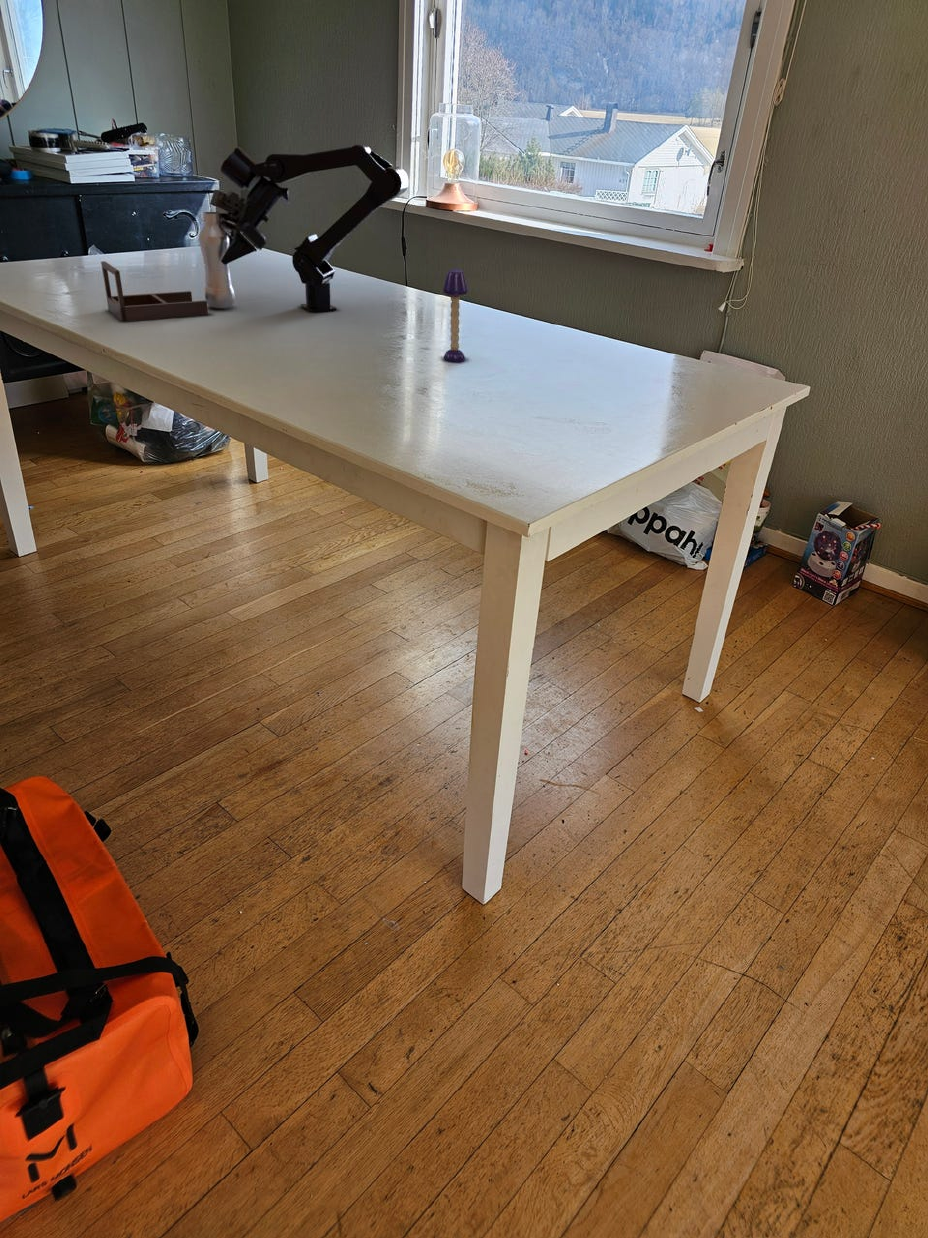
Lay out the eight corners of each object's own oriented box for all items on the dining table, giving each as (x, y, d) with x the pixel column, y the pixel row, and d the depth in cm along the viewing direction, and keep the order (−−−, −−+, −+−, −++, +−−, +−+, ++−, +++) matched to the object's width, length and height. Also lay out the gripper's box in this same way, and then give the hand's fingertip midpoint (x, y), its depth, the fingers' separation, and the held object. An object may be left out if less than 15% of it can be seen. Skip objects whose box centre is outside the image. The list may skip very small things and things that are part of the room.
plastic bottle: (231, 311, 194) (223, 215, 183) (202, 309, 194) (192, 213, 183) (239, 305, 199) (231, 211, 189) (210, 303, 199) (201, 209, 189)
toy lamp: (443, 362, 168) (447, 272, 159) (438, 356, 172) (441, 268, 163) (467, 362, 169) (472, 272, 160) (461, 355, 173) (465, 268, 164)
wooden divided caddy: (208, 315, 190) (203, 266, 185) (122, 321, 181) (114, 270, 175) (191, 304, 198) (186, 257, 192) (108, 310, 188) (100, 261, 183)
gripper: (215, 171, 191) (172, 226, 191) (247, 180, 178) (202, 239, 178) (251, 209, 199) (210, 261, 199) (285, 220, 186) (241, 277, 186)
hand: (215, 259), depth 191 cm, fingers open, 9 cm apart
